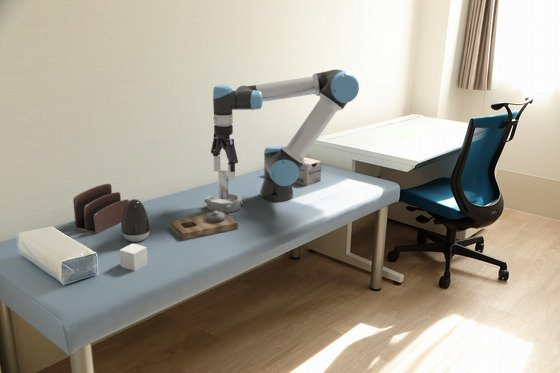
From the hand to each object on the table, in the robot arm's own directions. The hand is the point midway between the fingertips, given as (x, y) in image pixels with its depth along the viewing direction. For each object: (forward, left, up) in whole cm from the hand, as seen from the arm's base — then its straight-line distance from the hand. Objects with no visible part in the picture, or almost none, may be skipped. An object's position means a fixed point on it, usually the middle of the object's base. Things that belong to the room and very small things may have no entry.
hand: (224, 174), depth 217 cm
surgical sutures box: (-51, -23, -15) cm, 58 cm away
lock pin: (0, 0, -10) cm, 10 cm away
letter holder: (+48, -7, -15) cm, 51 cm away
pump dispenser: (+42, +14, -15) cm, 47 cm away
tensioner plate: (+17, +17, -15) cm, 28 cm away
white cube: (+49, +34, -15) cm, 62 cm away
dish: (0, 0, -15) cm, 15 cm away
